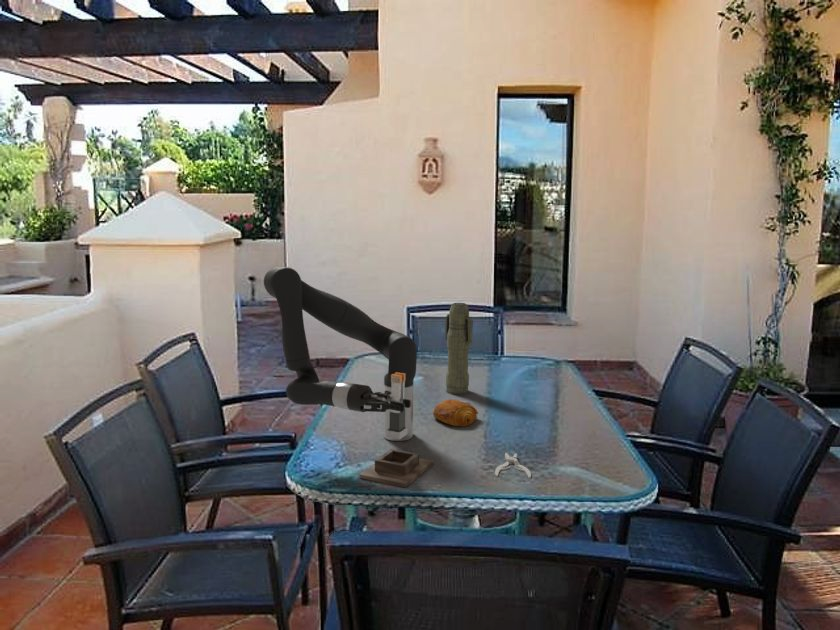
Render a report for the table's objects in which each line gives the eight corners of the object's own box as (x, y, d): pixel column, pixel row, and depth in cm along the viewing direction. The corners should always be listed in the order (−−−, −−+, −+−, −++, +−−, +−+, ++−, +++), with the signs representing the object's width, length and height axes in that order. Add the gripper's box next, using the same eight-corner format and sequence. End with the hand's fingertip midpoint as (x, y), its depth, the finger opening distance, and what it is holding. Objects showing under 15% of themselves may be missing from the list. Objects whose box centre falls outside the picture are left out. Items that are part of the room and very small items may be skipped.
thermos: (465, 396, 265) (467, 306, 259) (438, 391, 271) (440, 303, 265) (475, 391, 272) (478, 303, 266) (449, 386, 278) (451, 300, 272)
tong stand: (389, 455, 203) (389, 442, 202) (433, 464, 197) (433, 450, 197) (359, 477, 187) (359, 463, 186) (405, 487, 181) (406, 473, 180)
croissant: (450, 436, 227) (452, 414, 225) (425, 416, 240) (427, 395, 237) (485, 428, 235) (488, 406, 232) (459, 409, 247) (461, 389, 245)
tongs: (394, 431, 193) (395, 371, 190) (407, 434, 192) (408, 373, 189) (386, 437, 189) (387, 375, 186) (399, 439, 187) (400, 377, 184)
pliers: (495, 472, 189) (494, 452, 204) (495, 477, 189) (493, 457, 204) (531, 473, 188) (527, 453, 203) (531, 479, 189) (527, 458, 203)
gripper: (339, 390, 187) (396, 399, 180) (364, 378, 200) (418, 386, 193) (339, 416, 189) (395, 426, 182) (364, 403, 201) (417, 411, 194)
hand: (407, 405), depth 187 cm, fingers closed on tongs, 3 cm apart
